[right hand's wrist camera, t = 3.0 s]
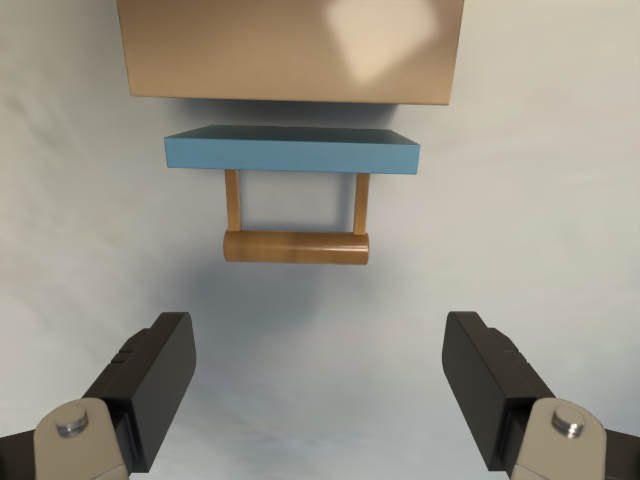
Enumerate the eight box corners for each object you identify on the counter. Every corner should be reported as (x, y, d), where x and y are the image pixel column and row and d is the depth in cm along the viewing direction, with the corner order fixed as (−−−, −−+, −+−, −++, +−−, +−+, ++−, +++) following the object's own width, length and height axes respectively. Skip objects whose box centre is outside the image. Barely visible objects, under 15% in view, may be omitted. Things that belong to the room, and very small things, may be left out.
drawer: (380, 242, 24) (402, 296, 17) (220, 237, 24) (181, 291, 17) (421, -204, 16) (487, -402, 10) (186, -212, 16) (96, -416, 10)
